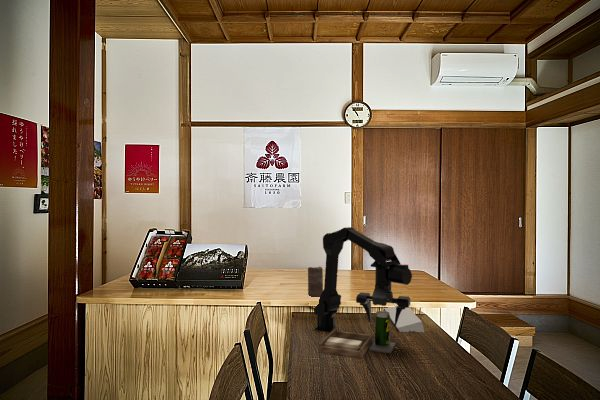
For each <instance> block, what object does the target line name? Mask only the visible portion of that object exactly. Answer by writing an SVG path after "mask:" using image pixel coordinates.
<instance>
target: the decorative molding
mask: <svg viewBox="0 0 600 400" xmlns="http://www.w3.org/2000/svg"><path fill="white" fill-rule="evenodd" d="M396 307H397V306H395V307H388V308H383V310H384V309H385V310H384V311H387V312H389V313H390V321H391V322H392V323H393V324H394V326H395V327H396V329H397V330H398V332H399V333H402V332H403V333H410V332H411V333H412V332H416V333H425V329H424V325H423V322H422V320H421V319H420V318H419V317H418V316H417V315H416V314H415V312H414V311H413V310H412V309H411V308H410V306H409V307H408V308H405V309H404V310H402V311H401V313H400V316H399V319H398V322H397V324H396V325H395V316H396Z"/></svg>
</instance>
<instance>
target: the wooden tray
mask: <svg viewBox="0 0 600 400" xmlns="http://www.w3.org/2000/svg"><path fill="white" fill-rule="evenodd" d="M330 337H335V338H343V339H350V340H358V341H365V342H364V343H362V345H361V348H360V351H354V350H347V349H340V348H332V347H325V343H326V341H327V340H328V339H329V338H330ZM374 341H375V332H371V334H365V333H357V332H349V331H341V330H338V328H337V327H335V328H334V329H333V330H332V331H330V332H329V333H328V334H327V335H326V336H325V337H324V338H323V339H322V340H320V342H319V343H318V352H319V353H322V354H329V355H335V356H343V357H348V358H349V357H350V358H355V359H356V358H357V359H363V358H364V357H365V354H366V353H367V352H368V351H369V348H370V347H371V345H372V344H373V342H374Z"/></svg>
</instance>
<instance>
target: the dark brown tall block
mask: <svg viewBox="0 0 600 400" xmlns="http://www.w3.org/2000/svg"><path fill="white" fill-rule="evenodd" d="M323 274H324V273H323V267H322V266H317V267H316V266H315V267H311V266H309V267H307V296H308V295H309V296H311V297H320V295H321V294H322V292H323V290H324V284H323V283H324V278H323V276H324V275H323Z"/></svg>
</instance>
